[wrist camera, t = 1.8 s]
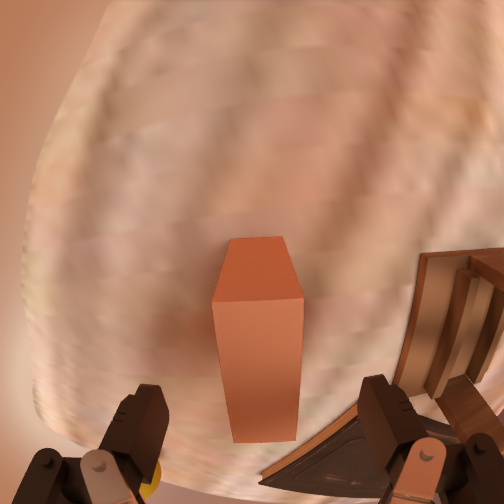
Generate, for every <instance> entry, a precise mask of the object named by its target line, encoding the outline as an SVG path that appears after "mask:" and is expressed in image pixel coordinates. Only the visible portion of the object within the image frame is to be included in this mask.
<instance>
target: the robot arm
mask: <svg viewBox="0 0 504 504" xmlns="http://www.w3.org/2000/svg"><path fill="white" fill-rule="evenodd" d="M357 413H358V417H359V420H360V423H361V425H362V428H363V431H364V434H365V437H366V440H367V443H368V446H369V448H370V451H371V454H372V457H373V460H374V463H375V466H376V470H377V473H378V476H379V477H382V476H386V475H388V476H389V479H390V481H389V483H388V485H387V487H386V489H385V491H384V493H383V495H382V497H381V499H380V501H379V503H378V504H435V503H434V502H433V501H432V500H433V496H434V493H437V492H438V494H439V497H440V500H441V503H442V504H504V458H503V456H502V454H501V452H500V450H499V449H498V447H497V445H496V443H495V441H494V440H493V438H492V437H491V436H489V435H488V434H485V433H476V434H473V435H471V436H470V437H469V438H468V440H467V441H466V442H465V443H460V444H451V445H444V444H443V443H442V442H441V441H439V440H438V439H435V438H430V437H429V435H428V433H427V432H426V430H425V428H424V426H423V424H422V422H421V420H420V418H419V417H418V415H417V413H416V411H415V409H413V406H412V404H411V402H409V399H408V397H407V395H406V393H405V392H404V390H402V389H401V388H400V387H399V386H397V385H396V384H392V385H389V383H388V382H387V380H386V378H385V376H384V375H383V374H380V375H374V376H369V377H364V379H363V382H362V386H361V390H360V394H359V398H358V403H357ZM168 424H169V410H168V407H167V404H166V401H165V399H164V396H163V393H162V390H161V387H160V386H159V385H150V384H140V385H139V387H138V389H137V391H136V393H135V395H130V394H129V395H128V396H127V397H126V398H125V399H124V400H123V401H121V403H120V405H119V407H118V409H117V411H116V413H115V415H114V417H113V421H111V423H110V425H109V427H108V429H107V431H106V433H105V435H104V438H103V440H102V442H101V444H100V446H99V448H98V449H96V450H92V451H89V452H87V453H86V454H85V455H84V456H83V457H82V458H71V457H62V456H61V455H60V454H59V452H57V451H56V450H54V449H51V448H44V449H41V450H39V451H38V452H37V453H36V454H35V455H34V457H33V459H32V461H31V463H30V465H29V467H28V469H27V471H26V473H25V476H24V477H23V479H22V481H21V484H20V486H19V488H18V490H17V493H16V495H15V497H14V499H13V502H12V504H147V503H146V501H145V499H144V497H143V495H142V494H141V492H140V490H139V489H140V486H141V483H144V484H149V485H151V483H152V479H153V475H154V472H155V468H156V465H157V461H158V458H159V454H160V451H161V448H162V444H163V441H164V437H165V434H166V431H167V427H168Z"/></svg>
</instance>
